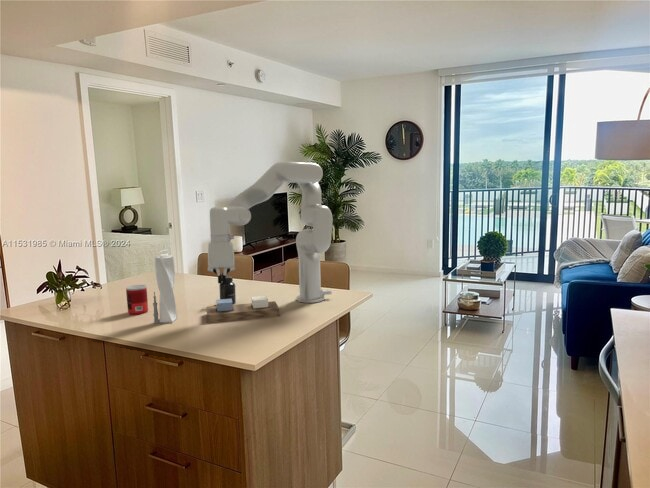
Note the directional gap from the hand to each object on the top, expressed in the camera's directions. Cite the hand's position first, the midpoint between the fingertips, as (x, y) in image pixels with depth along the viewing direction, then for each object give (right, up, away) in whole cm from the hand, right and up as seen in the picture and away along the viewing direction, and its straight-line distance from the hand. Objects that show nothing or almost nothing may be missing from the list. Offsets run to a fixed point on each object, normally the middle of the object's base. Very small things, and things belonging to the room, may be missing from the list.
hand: (222, 285), depth 188 cm
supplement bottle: (-2, -10, +22) cm, 24 cm away
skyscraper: (-21, -14, -1) cm, 26 cm away
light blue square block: (+1, -10, +2) cm, 10 cm away
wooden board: (+8, -12, +4) cm, 15 cm away
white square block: (+14, -9, +5) cm, 18 cm away
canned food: (-38, -13, +11) cm, 41 cm away
